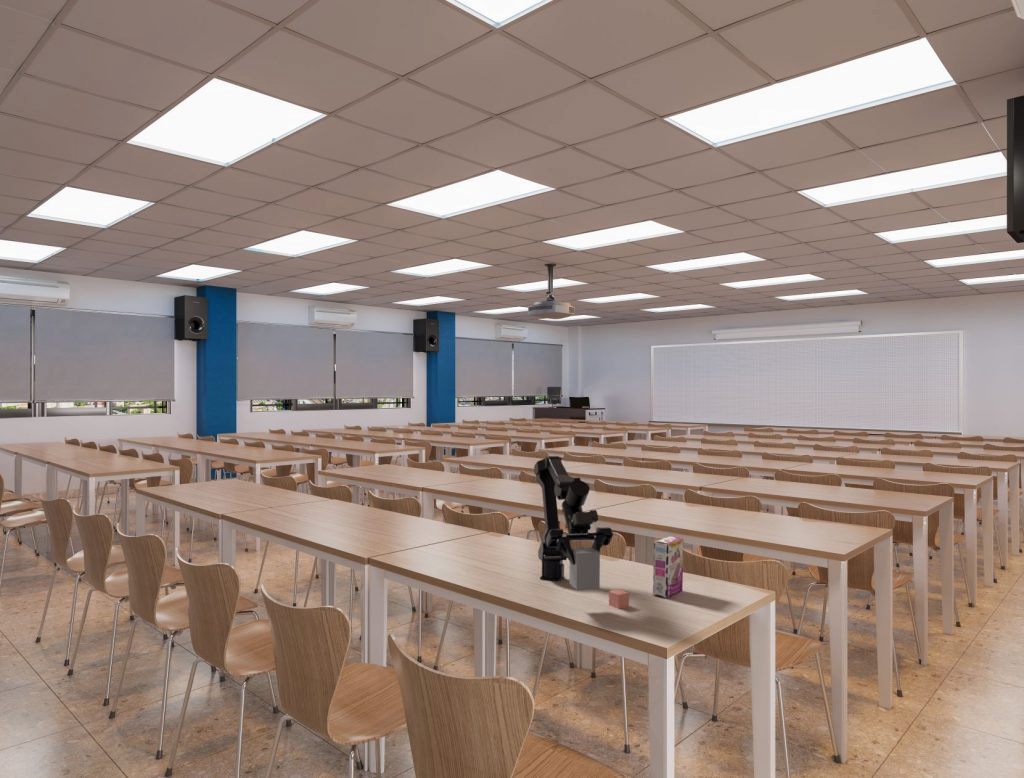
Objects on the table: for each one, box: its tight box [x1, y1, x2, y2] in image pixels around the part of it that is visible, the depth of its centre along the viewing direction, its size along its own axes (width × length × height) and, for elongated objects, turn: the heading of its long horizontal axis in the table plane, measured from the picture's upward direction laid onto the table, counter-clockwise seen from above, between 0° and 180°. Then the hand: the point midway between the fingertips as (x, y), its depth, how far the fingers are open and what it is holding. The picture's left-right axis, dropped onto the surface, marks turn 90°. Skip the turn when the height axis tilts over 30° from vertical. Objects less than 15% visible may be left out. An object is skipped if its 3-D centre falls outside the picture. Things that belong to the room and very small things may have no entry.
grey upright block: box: [568, 546, 601, 591], centre depth 178 cm, size 7×7×10 cm
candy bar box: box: [652, 536, 684, 599], centre depth 195 cm, size 11×5×16 cm, turn 141°
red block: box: [608, 588, 630, 610], centre depth 182 cm, size 4×4×4 cm
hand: (586, 563), depth 177 cm, fingers closed on grey upright block, 7 cm apart
